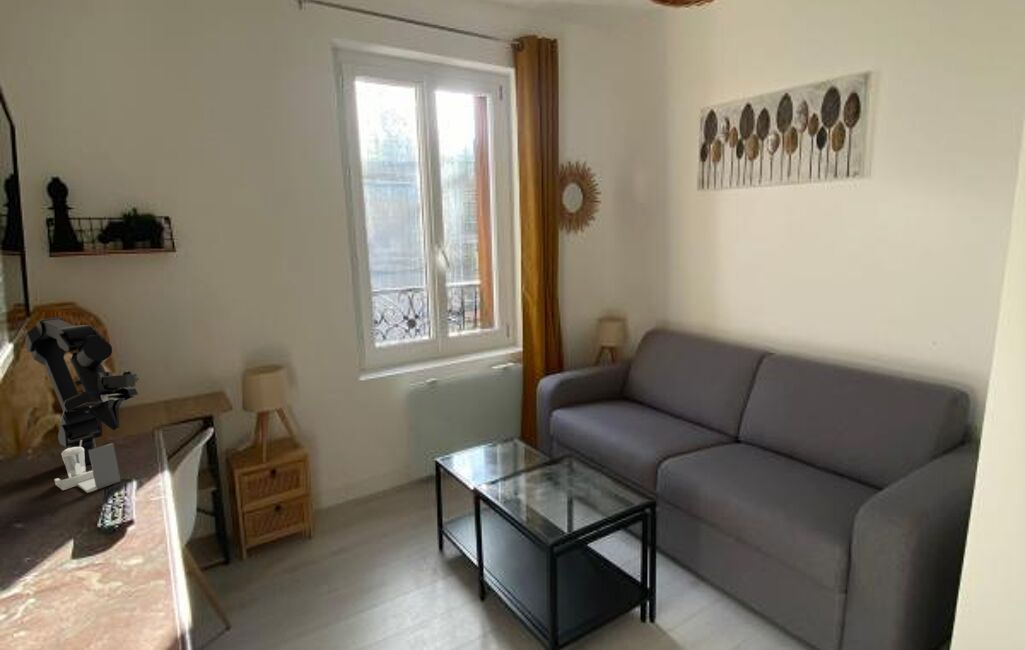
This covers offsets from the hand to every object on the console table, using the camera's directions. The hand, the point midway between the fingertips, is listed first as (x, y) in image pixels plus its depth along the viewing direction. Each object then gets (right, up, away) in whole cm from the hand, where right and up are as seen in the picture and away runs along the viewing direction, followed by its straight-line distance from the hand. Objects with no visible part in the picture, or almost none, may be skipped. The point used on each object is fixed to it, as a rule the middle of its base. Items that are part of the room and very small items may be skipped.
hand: (116, 429), depth 139 cm
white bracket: (-8, -14, 0) cm, 16 cm away
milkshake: (-11, -14, +2) cm, 18 cm away
